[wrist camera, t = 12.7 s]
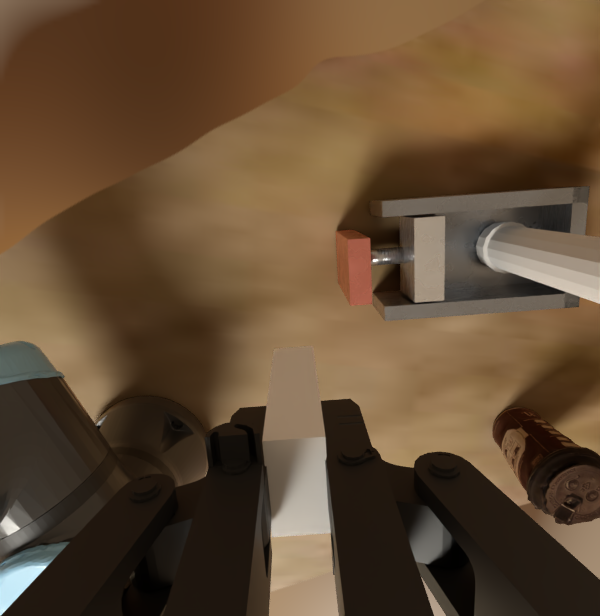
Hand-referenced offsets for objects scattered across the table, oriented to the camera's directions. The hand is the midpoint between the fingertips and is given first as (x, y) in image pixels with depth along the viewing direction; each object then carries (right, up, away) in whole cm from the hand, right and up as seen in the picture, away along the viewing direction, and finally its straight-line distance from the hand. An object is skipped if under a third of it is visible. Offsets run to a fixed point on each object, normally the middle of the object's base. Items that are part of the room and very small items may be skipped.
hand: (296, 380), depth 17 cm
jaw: (+9, +9, +33) cm, 35 cm away
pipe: (+22, +10, +32) cm, 41 cm away
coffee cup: (+28, -13, +39) cm, 50 cm away
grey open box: (+18, +10, +33) cm, 39 cm away
